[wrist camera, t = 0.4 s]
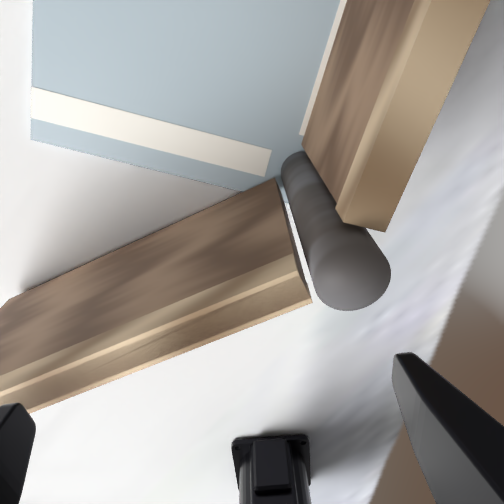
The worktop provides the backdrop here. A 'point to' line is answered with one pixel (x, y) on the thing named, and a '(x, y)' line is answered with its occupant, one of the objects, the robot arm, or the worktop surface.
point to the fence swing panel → (152, 300)
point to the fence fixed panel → (371, 135)
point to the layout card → (181, 82)
